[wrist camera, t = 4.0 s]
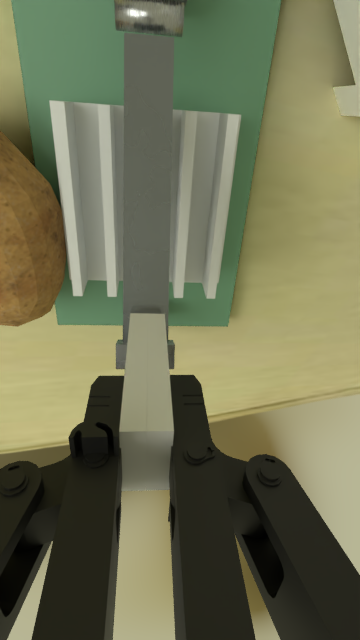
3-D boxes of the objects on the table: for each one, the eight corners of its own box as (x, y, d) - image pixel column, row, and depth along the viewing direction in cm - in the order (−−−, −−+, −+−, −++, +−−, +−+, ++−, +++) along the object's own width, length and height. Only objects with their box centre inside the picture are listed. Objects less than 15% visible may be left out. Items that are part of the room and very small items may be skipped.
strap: (116, 8, 16) (114, -18, 14) (181, 15, 16) (185, -9, 15) (116, 361, 18) (113, 369, 17) (173, 361, 18) (176, 368, 17)
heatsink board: (9, -68, 18) (-66, -163, 12) (279, -35, 20) (344, -103, 13) (61, 315, 31) (38, 372, 24) (224, 317, 33) (244, 371, 26)
